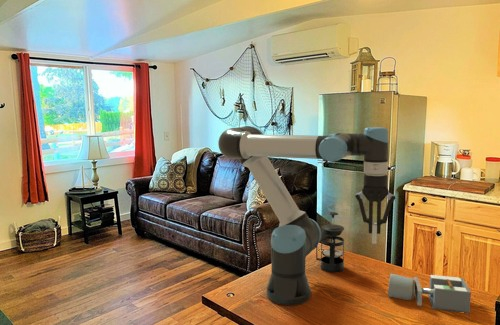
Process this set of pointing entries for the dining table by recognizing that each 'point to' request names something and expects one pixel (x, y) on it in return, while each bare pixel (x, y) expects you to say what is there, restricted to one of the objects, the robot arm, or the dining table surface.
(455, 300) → the grey bracket housing
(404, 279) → the ceramic mug
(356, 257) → the dining table surface
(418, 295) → the plunger
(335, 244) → the french press
